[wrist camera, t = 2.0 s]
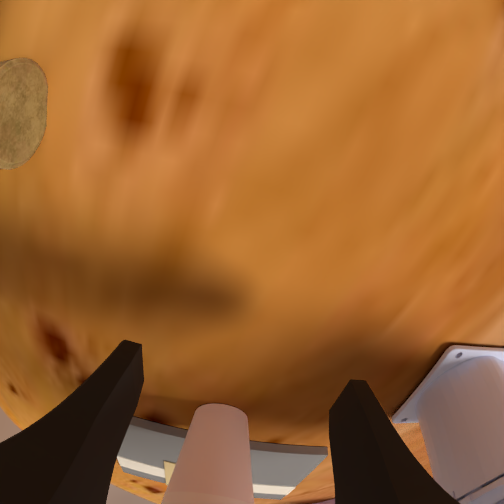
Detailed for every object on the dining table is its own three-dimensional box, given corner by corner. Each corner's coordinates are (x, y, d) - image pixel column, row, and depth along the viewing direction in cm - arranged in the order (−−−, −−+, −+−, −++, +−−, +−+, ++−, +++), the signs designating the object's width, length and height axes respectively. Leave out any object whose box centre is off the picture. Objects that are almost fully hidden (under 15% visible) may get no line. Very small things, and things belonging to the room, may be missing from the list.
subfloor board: (327, 446, 22) (327, 456, 21) (280, 493, 29) (280, 500, 28) (104, 407, 21) (101, 417, 20) (125, 466, 28) (123, 473, 27)
